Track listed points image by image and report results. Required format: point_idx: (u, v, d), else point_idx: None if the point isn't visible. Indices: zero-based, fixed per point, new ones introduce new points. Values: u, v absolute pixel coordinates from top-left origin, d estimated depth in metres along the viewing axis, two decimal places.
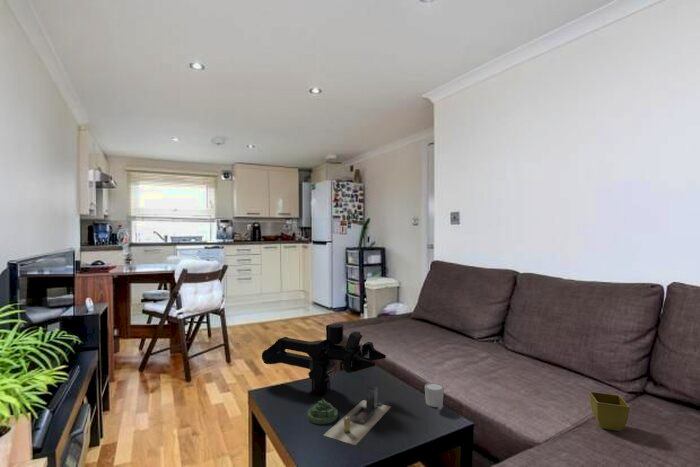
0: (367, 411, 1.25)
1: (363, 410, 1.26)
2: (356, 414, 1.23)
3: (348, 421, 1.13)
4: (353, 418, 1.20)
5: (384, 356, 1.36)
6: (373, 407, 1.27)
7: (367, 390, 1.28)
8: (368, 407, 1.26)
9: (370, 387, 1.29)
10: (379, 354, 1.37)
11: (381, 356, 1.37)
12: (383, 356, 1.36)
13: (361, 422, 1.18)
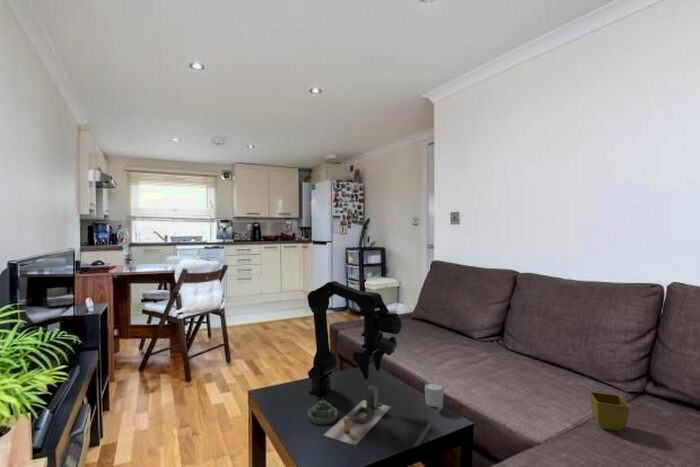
0: (367, 411, 1.25)
1: (363, 410, 1.26)
2: (356, 414, 1.23)
3: (348, 421, 1.13)
4: (353, 418, 1.20)
5: (377, 369, 1.33)
6: (373, 407, 1.27)
7: (367, 390, 1.28)
8: (368, 407, 1.26)
9: (370, 387, 1.29)
10: (378, 363, 1.33)
11: (377, 366, 1.33)
12: (377, 368, 1.33)
13: (361, 422, 1.18)
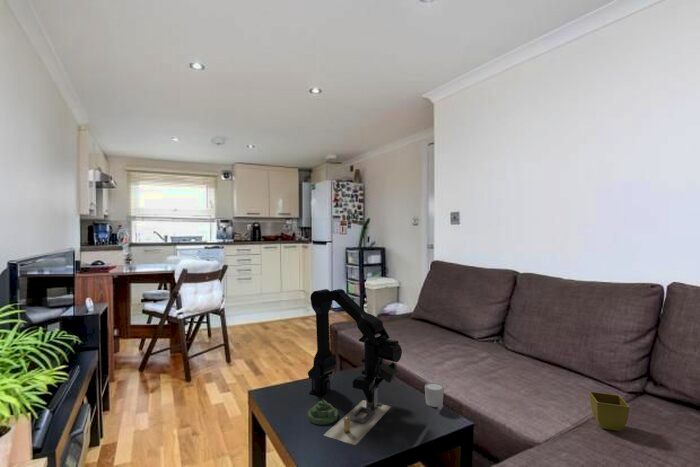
0: (367, 411, 1.25)
1: (363, 410, 1.26)
2: (356, 414, 1.23)
3: (348, 421, 1.13)
4: (353, 418, 1.20)
5: None
6: (373, 407, 1.27)
7: None
8: (368, 407, 1.26)
9: None
10: None
11: None
12: None
13: (361, 422, 1.18)
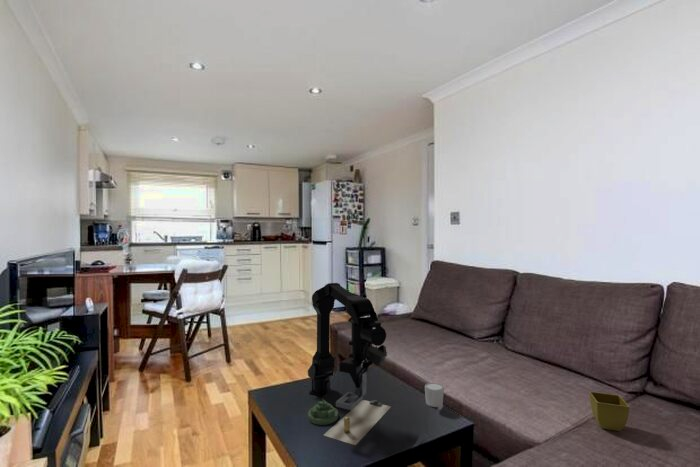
0: (355, 397, 1.17)
1: (350, 396, 1.18)
2: (343, 400, 1.14)
3: (348, 421, 1.13)
4: (339, 403, 1.11)
5: None
6: (361, 392, 1.19)
7: None
8: (356, 392, 1.18)
9: None
10: None
11: None
12: None
13: (348, 407, 1.10)
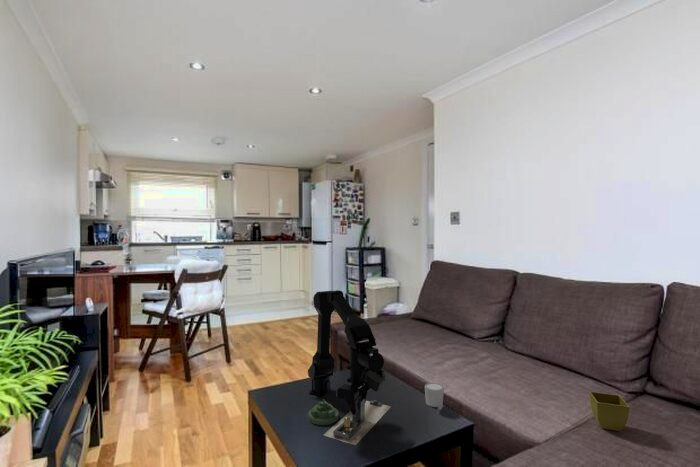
0: (353, 425, 1.16)
1: None
2: (340, 429, 1.14)
3: (348, 421, 1.13)
4: (337, 433, 1.11)
5: None
6: (359, 420, 1.18)
7: None
8: (354, 421, 1.17)
9: None
10: None
11: None
12: None
13: (345, 438, 1.09)
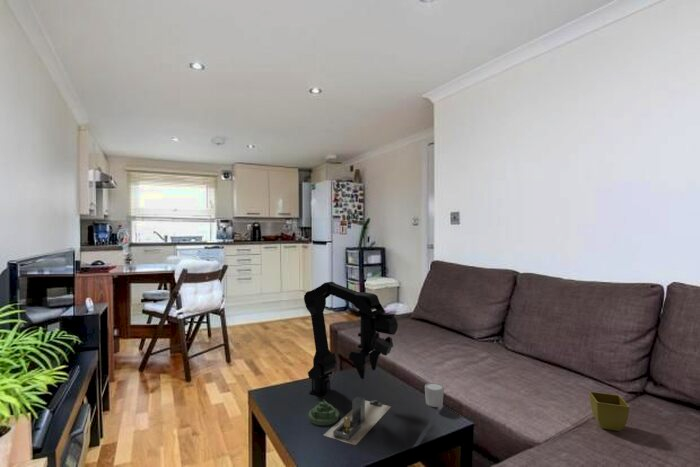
0: (353, 425, 1.16)
1: None
2: (340, 429, 1.14)
3: (348, 421, 1.13)
4: (337, 433, 1.11)
5: (373, 369, 1.35)
6: (359, 420, 1.18)
7: (353, 402, 1.19)
8: (354, 421, 1.17)
9: (356, 399, 1.20)
10: (374, 363, 1.35)
11: (373, 365, 1.35)
12: (373, 368, 1.35)
13: (345, 438, 1.09)
